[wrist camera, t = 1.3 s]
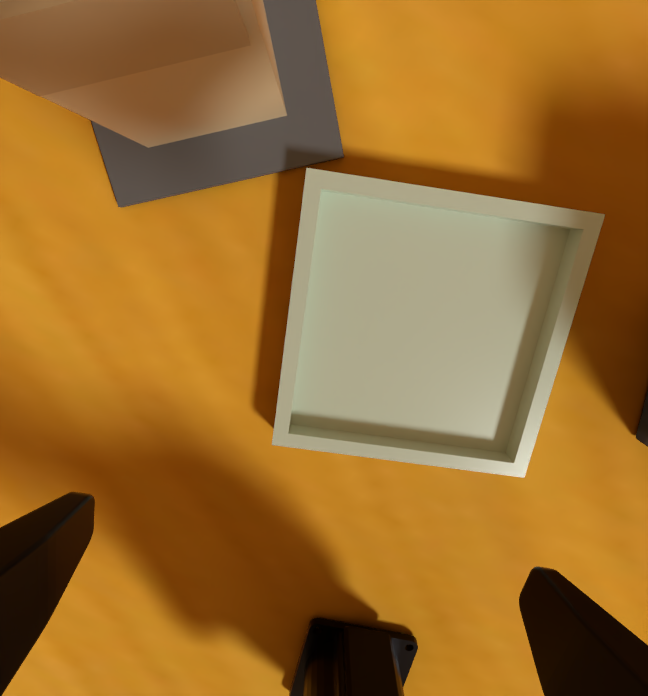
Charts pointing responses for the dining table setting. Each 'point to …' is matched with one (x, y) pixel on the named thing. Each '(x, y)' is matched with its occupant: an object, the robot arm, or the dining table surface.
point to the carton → (146, 63)
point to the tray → (427, 322)
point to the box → (643, 424)
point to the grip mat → (245, 141)
